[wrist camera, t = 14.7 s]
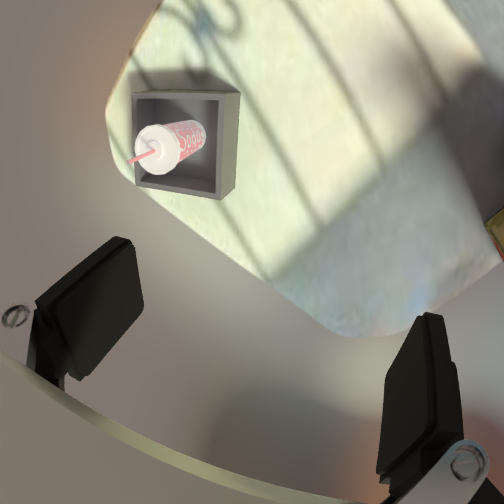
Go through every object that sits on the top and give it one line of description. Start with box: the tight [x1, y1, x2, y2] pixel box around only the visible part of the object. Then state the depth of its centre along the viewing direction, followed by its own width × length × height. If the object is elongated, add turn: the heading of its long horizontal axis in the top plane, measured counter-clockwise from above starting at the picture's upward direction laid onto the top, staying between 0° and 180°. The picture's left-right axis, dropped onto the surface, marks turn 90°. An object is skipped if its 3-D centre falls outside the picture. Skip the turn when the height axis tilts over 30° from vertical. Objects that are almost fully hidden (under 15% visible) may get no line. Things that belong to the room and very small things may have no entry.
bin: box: [132, 90, 240, 200], centre depth 41 cm, size 14×14×5 cm
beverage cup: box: [127, 120, 206, 175], centre depth 37 cm, size 6×6×14 cm
